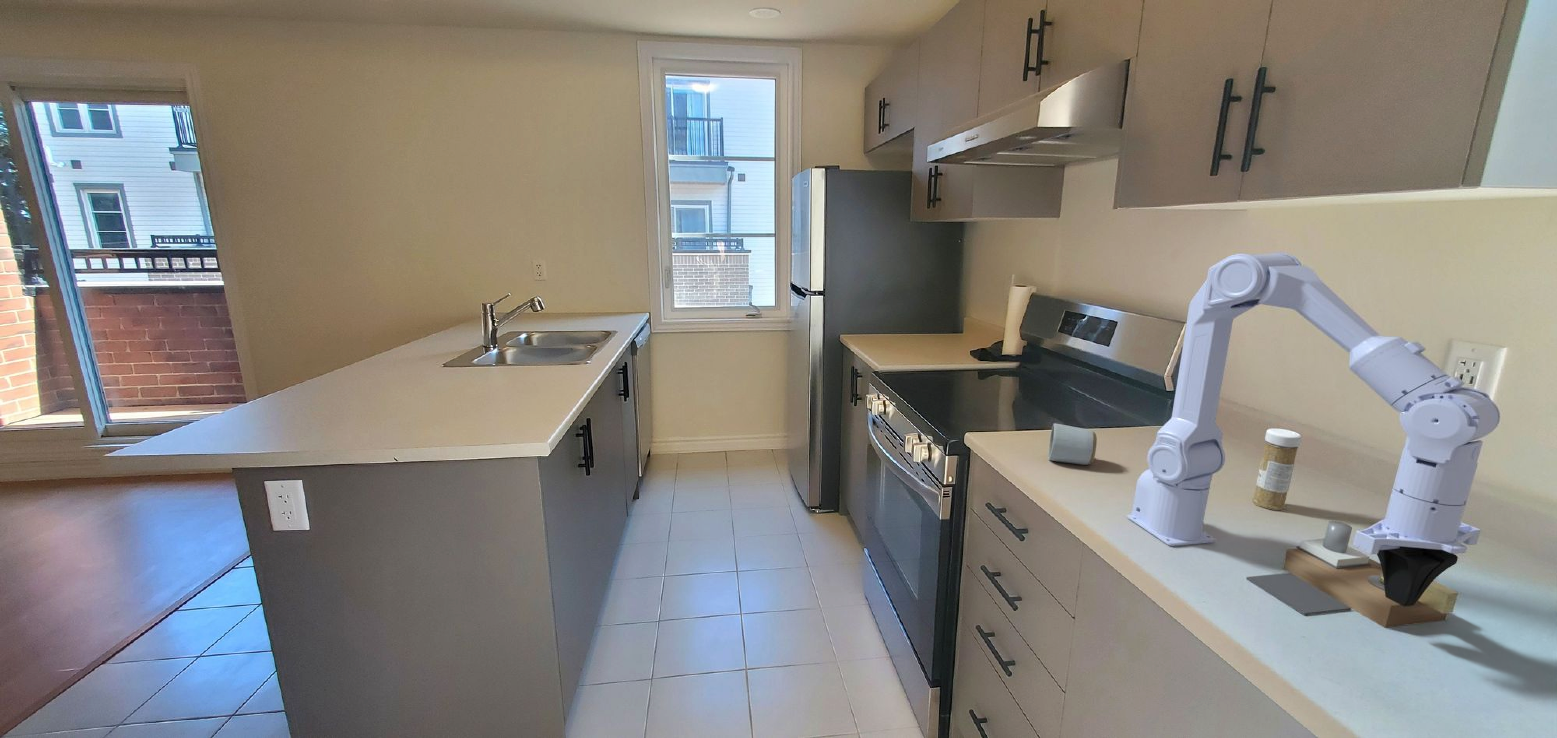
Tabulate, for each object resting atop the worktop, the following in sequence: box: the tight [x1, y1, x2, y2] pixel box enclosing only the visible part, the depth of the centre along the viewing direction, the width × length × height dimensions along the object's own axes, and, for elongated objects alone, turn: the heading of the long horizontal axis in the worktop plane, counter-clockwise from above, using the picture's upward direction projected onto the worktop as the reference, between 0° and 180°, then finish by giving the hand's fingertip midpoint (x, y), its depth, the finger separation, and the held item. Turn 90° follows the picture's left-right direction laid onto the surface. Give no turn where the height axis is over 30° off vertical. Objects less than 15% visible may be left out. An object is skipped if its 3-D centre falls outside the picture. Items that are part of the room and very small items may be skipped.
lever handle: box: [1379, 574, 1459, 614], centre depth 74 cm, size 7×2×3 cm, turn 9°
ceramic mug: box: [1047, 422, 1098, 466], centre depth 125 cm, size 11×8×8 cm
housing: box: [1282, 545, 1449, 628], centre depth 80 cm, size 13×9×3 cm
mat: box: [1245, 572, 1352, 616], centre depth 80 cm, size 8×7×1 cm
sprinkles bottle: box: [1252, 428, 1302, 511], centre depth 104 cm, size 5×5×13 cm
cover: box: [1299, 520, 1370, 566], centre depth 83 cm, size 5×5×4 cm
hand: (1399, 601), depth 71 cm, fingers closed
